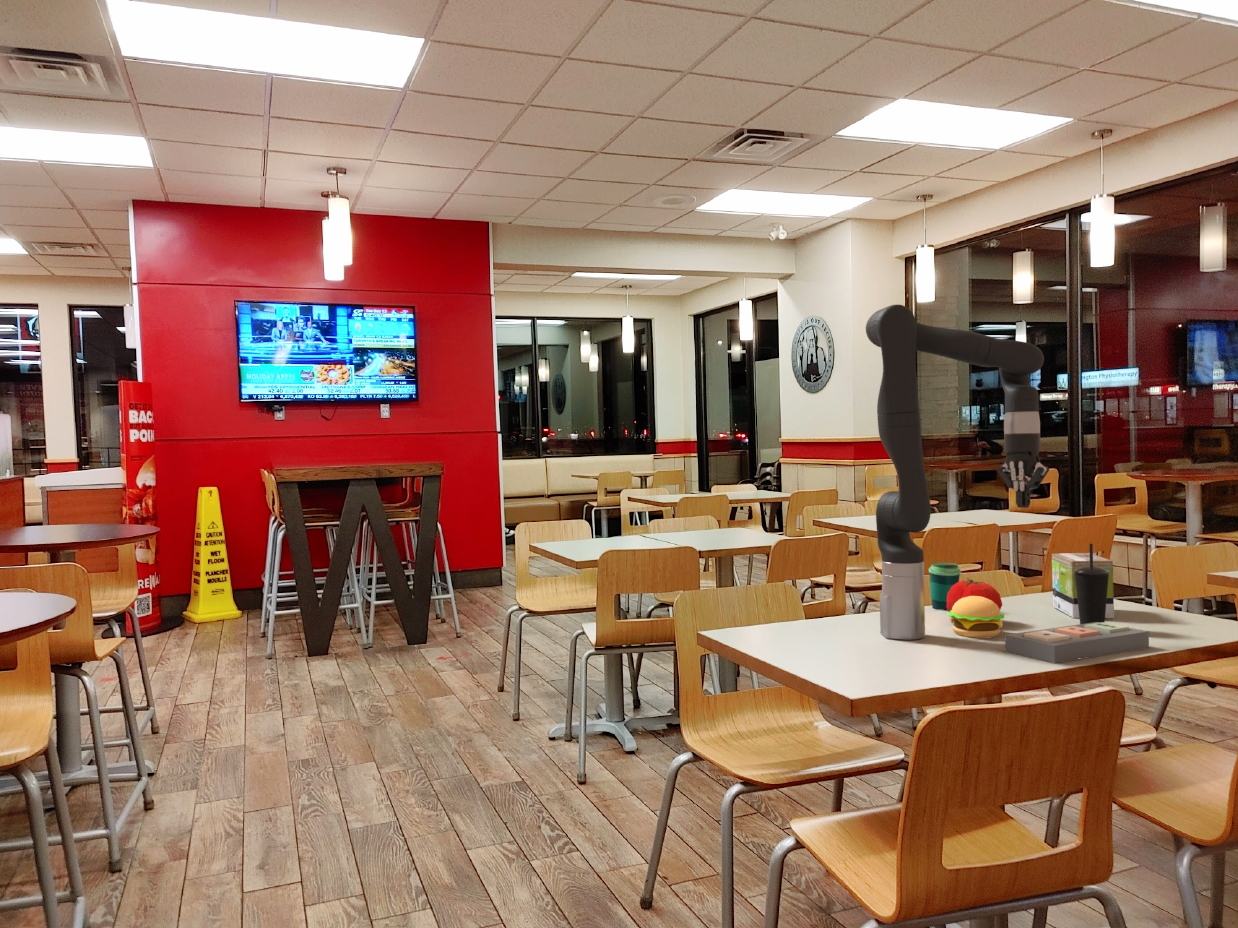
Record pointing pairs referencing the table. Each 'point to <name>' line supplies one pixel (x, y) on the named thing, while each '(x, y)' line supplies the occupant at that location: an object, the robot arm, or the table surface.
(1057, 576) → the tea box
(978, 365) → the robot arm
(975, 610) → the hamburger
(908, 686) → the table surface
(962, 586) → the tomato
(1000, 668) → the table surface
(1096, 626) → the sage tile
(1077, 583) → the drinking cup
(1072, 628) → the terracotta tile
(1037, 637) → the cream tile
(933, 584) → the cup
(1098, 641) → the console
